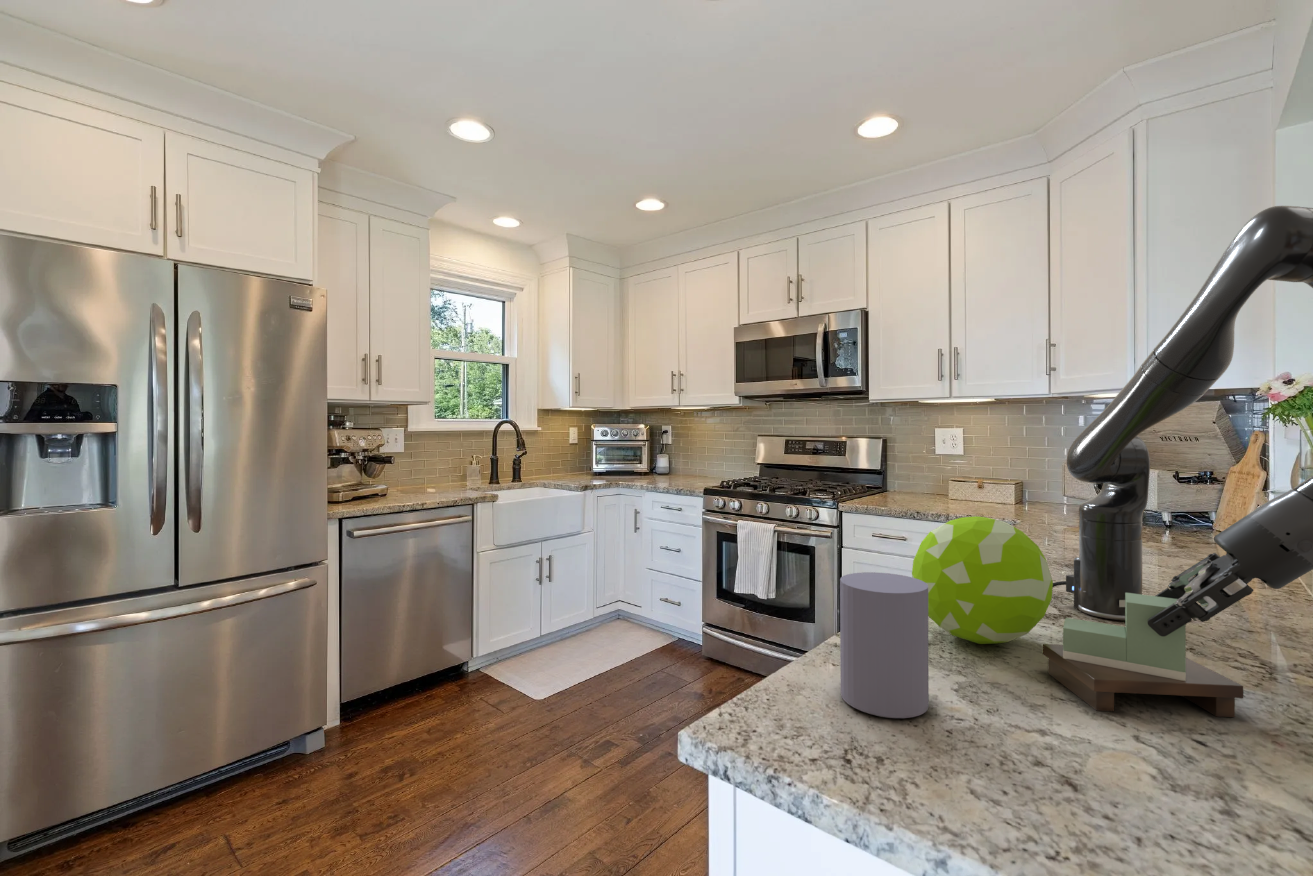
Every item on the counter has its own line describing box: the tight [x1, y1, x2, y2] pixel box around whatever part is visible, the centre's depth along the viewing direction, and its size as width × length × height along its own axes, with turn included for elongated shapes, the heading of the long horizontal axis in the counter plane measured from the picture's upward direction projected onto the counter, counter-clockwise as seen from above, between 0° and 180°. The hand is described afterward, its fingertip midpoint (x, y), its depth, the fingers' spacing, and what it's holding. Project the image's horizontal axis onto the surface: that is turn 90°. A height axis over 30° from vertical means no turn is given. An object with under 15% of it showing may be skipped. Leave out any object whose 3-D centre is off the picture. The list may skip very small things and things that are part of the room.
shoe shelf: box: [1042, 643, 1244, 718], centre depth 76 cm, size 16×12×4 cm
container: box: [839, 571, 930, 719], centre depth 74 cm, size 10×10×15 cm
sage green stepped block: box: [1062, 593, 1187, 681], centre depth 76 cm, size 12×6×8 cm, turn 53°
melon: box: [911, 515, 1054, 645], centre depth 96 cm, size 20×25×20 cm
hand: (1151, 620), depth 74 cm, fingers open, 8 cm apart
